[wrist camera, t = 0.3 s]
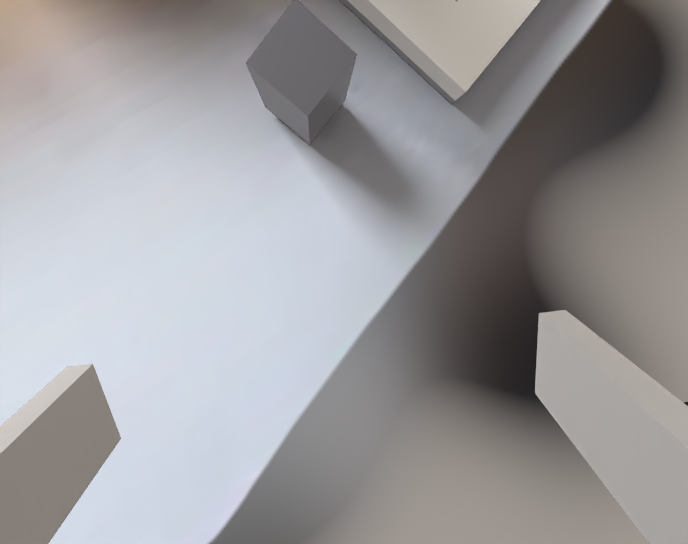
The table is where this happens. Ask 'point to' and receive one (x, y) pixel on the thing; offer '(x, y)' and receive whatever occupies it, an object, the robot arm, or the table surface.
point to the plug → (302, 71)
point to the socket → (444, 35)
